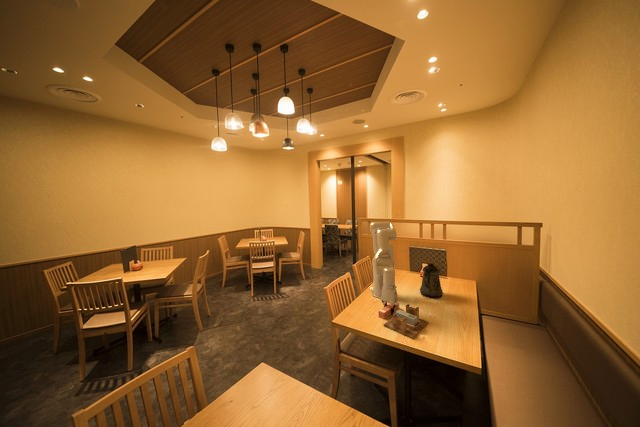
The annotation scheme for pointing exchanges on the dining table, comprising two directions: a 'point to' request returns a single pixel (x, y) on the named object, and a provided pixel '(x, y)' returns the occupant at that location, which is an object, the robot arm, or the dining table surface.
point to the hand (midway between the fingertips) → (389, 311)
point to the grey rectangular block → (410, 318)
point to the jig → (403, 326)
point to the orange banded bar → (386, 311)
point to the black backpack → (431, 282)
